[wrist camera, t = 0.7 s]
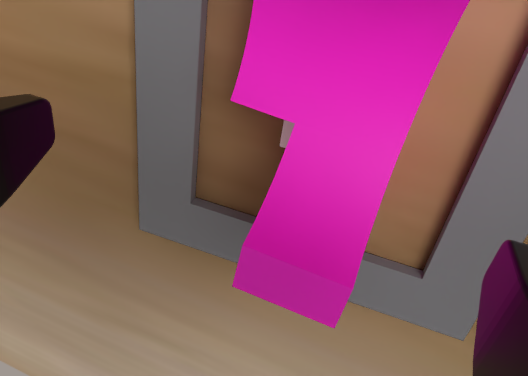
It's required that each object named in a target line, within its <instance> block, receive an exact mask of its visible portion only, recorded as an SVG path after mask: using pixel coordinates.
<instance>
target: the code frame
mask: <svg viewBox="0 0 528 376" xmlns="http://www.w3.org/2000/svg"><path fill="white" fill-rule="evenodd" d="M207 4H208V0H134V6H135V51H136V95H137V140H138V184H139V229H140V230H143V231H146V232H148V233H151V234H154V235H157V236H160V237H163V238H166V239H169V240H172V241H175V242H178V243H180V244H183V245H186V246H189V247H192V248H195V249H198V250H201V251H204V252H207V253H209V254H212V255H215V256H218V257H221V258H224V259H227V260H230V261H233V262H236V263H238V261H239V257H240V253H241V249H242V245H243V243H244V241H245V239H246V237H247V235H248V233H249V231H250V229H251V227H252V225H253V223H254V221H255V219H256V217H255V216H252V215H248V214H245V213H242V212H239V211H236V210H233V209H230V208H227V207H224V206H221V205H217V204H214V203H211V202H208V201H205V200H202V199H199V198H196V197H195V194H196V178H197V162H198V146H199V131H200V115H201V99H202V83H203V68H204V52H205V36H206V20H207ZM294 125H295V123H292V122H289V121H286V120H284V123H283V129H282V135H281V140H280V147H283V148H286V146H287V144H288V141H289V138H290V136H291V133H292V130H293V128H294ZM527 234H528V45H527V47H526V49H525V51H524V53H523V56H522V58H521V60H520V62H519V64H518V66H517V69H516V71H515V73H514V75H513V77H512V79H511V82H510V84H509V86H508V88H507V90H506V92H505V95H504V97H503V99H502V101H501V103H500V105H499V108H498V110H497V112H496V114H495V116H494V118H493V121H492V123H491V125H490V127H489V129H488V131H487V134H486V136H485V138H484V140H483V142H482V144H481V147H480V149H479V151H478V153H477V155H476V157H475V160H474V162H473V164H472V166H471V168H470V170H469V173H468V175H467V177H466V179H465V181H464V183H463V186H462V188H461V190H460V192H459V194H458V196H457V199H456V201H455V203H454V205H453V207H452V209H451V211H450V214H449V216H448V218H447V220H446V222H445V224H444V227H443V229H442V231H441V233H440V235H439V237H438V240H437V242H436V244H435V246H434V248H433V250H432V253H431V255H430V257H429V259H428V261H427V263H426V266H425V268H424V270H423V271H422V270H419V269H416V268H413V267H410V266H406V265H403V264H400V263H397V262H394V261H391V260H388V259H385V258H382V257H379V256H375V255H372V254H369V253H366V252H364V254H363V257H362V260H361V264H360V267H359V270H358V274H357V277H356V281H355V284H354V288H353V290H352V292H351V295H350V297H349V299H348V301H349V302H352V303H355V304H358V305H361V306H363V307H366V308H369V309H372V310H375V311H378V312H381V313H384V314H387V315H390V316H393V317H395V318H398V319H401V320H404V321H407V322H410V323H413V324H416V325H419V326H422V327H424V328H427V329H430V330H433V331H436V332H439V333H442V334H445V335H448V336H451V337H454V338H456V339H459V340H462V341H464V339H465V337H466V336H467V334H468V332H469V331H470V329H471V327H472V326H473V324H474V322H475V321H476V319H477V317H478V312H479V303H480V295H481V286H482V281H483V278H484V275H485V273H486V271H487V269H488V267H489V266H490V264H491V262H492V260H493V259H494V257H495V255H496V253H497V252H498V250H499V248H500V246H501V245H502V244H503V242H504V241H506V240H514V241H517V242H521V243H523V241H524V239H525V238H526V236H527Z"/></svg>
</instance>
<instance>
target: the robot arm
mask: <svg viewBox="0 0 528 376" xmlns="http://www.w3.org/2000/svg"><path fill="white" fill-rule="evenodd" d="M54 140H55V130H54V123H53V116H52V109H51V105H50V103H49V101H47V100H46V99H44V98H41V97H38V96H34V95H31V94H24V95H16V96H8V97H0V207H1V206H2V205H3V204H4V203H5V202H6V201H7V200H8V199H9V198H10V197H11V196H12V194H13V193H14V192H15V191H16V190H17V189H18V187H19V186H20V185H21V184H22V182H23V181H24V180H25V179H26V177H27V176H28V175H29V174H30V173H31V171H32V170H33V169H34V168H35V166H36V165H37V164H38V163H39V162H40V160H41V159H42V158H43V157H44V155H45V154H46V153H47V152H48V151H49V149H50V148H51V147H52V145H53V143H54ZM473 376H528V245H527V244H524V243H521V242H517V241H514V240H506V241H504V242H503V244H502V245H501V246H500V248H499V250H498V252H497V253H496V255H495V257H494V259H493V260H492V262H491V264H490V266H489V267H488V269H487V271H486V273H485V275H484V278H483V281H482V286H481V295H480V303H479V312H478V320H477V329H476V337H475V345H474V355H473Z"/></svg>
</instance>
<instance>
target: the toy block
mask: <svg viewBox="0 0 528 376" xmlns="http://www.w3.org/2000/svg"><path fill="white" fill-rule="evenodd" d="M469 1H470V0H254V2H253V9H252V15H251V21H250V27H249V32H248V37H247V42H246V46H245V51H244V55H243V59H242V63H241V67H240V70H239V74H238V78H237V81H236V84H235V88H234V91H233V94H232V97H231V100H230V101H233V102H235V103H238V104H241V105H244V106H247V107H250V108H252V109H255V110H258V111H261V112H264V113H267V114H269V115H272V116H275V117H278V118H281V119H284V120H286V121H289V122H292V123H295V125H294V128H293V130H292V133H291V136H290V138H289V141H288V144H287V146H286V149H285V152H284V154H283V157H282V159H281V162H280V164H279V167H278V169H277V172H276V174H275V177H274V179H273V181H272V184H271V186H270V188H269V191H268V193H267V195H266V197H265V200H264V202H263V204H262V206H261V209H260V211H259V213H258V215H257V217H256V219H255V221H254V223H253V225H252V227H251V229H250V231H249V233H248V235H247V237H246V239H245V241H244V243H243V245H242V249H241V253H240V257H239V261H238V265H237V269H236V273H235V277H234V281H233V285H232V286H233V287H235V288H237V289H240V290H242V291H245V292H247V293H250V294H252V295H254V296H257V297H259V298H262V299H264V300H267V301H269V302H271V303H274V304H276V305H279V306H281V307H284V308H286V309H288V310H291V311H293V312H296V313H298V314H301V315H303V316H305V317H308V318H310V319H313V320H315V321H317V322H320V323H322V324H325V325H327V326H330V327H332V328H335V326H336V324H337V322H338V320H339V318H340V316H341V313H342V311H343V309H344V307H345V305H346V303H347V301H348V299H349V297H350V295H351V292H352V290H353V288H354V284H355V281H356V277H357V274H358V270H359V267H360V264H361V260H362V257H363V254H364V251H365V248H366V244H367V241H368V238H369V235H370V232H371V229H372V226H373V223H374V221H375V218H376V215H377V212H378V209H379V206H380V203H381V201H382V198H383V195H384V193H385V190H386V187H387V184H388V182H389V179H390V176H391V174H392V171H393V169H394V166H395V163H396V161H397V158H398V156H399V153H400V151H401V148H402V146H403V143H404V141H405V138H406V136H407V133H408V131H409V129H410V126H411V124H412V121H413V119H414V117H415V114H416V112H417V110H418V107H419V105H420V103H421V100H422V98H423V96H424V94H425V91H426V89H427V87H428V85H429V82H430V80H431V78H432V76H433V74H434V71H435V69H436V67H437V65H438V63H439V61H440V59H441V56H442V54H443V52H444V50H445V48H446V46H447V44H448V42H449V40H450V38H451V36H452V34H453V32H454V30H455V28H456V26H457V24H458V22H459V20H460V18H461V16H462V14H463V12H464V10H465V9H466V7H467V5H468V3H469Z"/></svg>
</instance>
